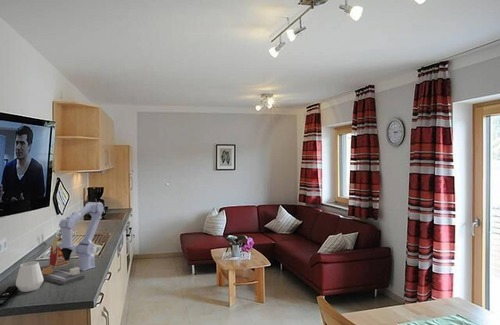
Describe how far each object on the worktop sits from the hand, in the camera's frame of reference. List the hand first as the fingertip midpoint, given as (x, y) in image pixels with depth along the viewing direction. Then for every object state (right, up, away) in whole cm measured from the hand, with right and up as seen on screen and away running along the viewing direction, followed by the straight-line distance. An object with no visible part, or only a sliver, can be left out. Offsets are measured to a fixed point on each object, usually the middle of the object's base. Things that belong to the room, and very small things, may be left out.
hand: (67, 260), depth 224 cm
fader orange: (-10, -7, -3) cm, 13 cm away
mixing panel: (-1, -10, -4) cm, 10 cm away
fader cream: (+7, -7, -5) cm, 11 cm away
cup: (-10, -10, -22) cm, 26 cm away
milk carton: (-17, -9, +21) cm, 29 cm away
